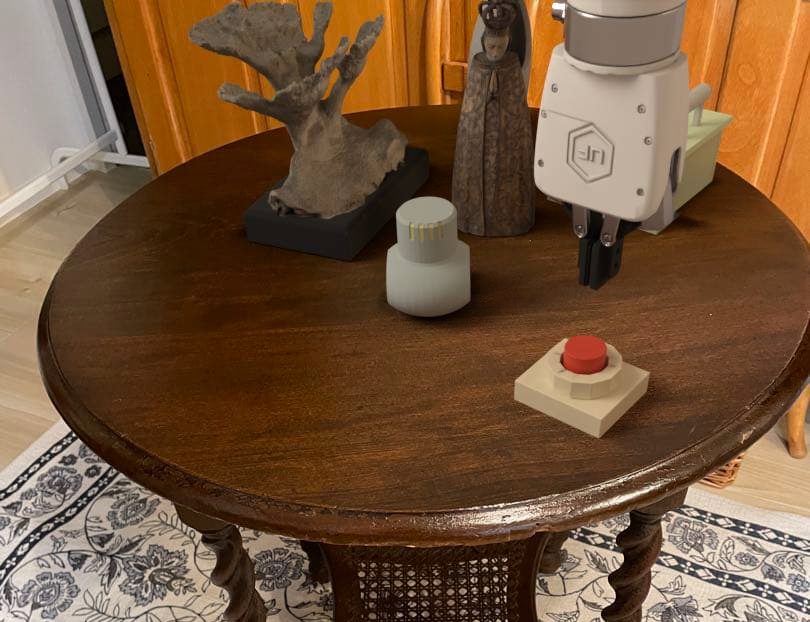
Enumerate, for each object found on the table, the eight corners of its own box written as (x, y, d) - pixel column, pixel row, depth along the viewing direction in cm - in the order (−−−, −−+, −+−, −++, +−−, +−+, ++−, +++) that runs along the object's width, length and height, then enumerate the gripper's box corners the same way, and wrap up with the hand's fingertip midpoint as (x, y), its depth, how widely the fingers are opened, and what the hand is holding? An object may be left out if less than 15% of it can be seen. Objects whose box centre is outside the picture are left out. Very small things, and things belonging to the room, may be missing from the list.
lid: (731, 122, 96) (741, 74, 92) (674, 166, 90) (683, 116, 86) (611, 94, 103) (616, 49, 99) (551, 133, 97) (554, 86, 93)
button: (612, 360, 76) (615, 344, 74) (590, 381, 74) (592, 364, 73) (577, 346, 77) (579, 329, 76) (554, 366, 76) (556, 349, 74)
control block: (646, 392, 78) (653, 355, 75) (598, 439, 74) (603, 402, 71) (563, 356, 82) (566, 321, 79) (513, 399, 78) (515, 363, 75)
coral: (334, 279, 94) (304, 68, 78) (186, 244, 101) (131, 44, 85) (435, 178, 108) (428, -17, 92) (299, 154, 115) (270, -32, 99)
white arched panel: (511, 186, 106) (516, 15, 92) (454, 182, 107) (451, 14, 93) (537, 122, 117) (545, -38, 103) (486, 119, 119) (487, -39, 105)
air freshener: (393, 274, 94) (386, 184, 86) (469, 271, 93) (468, 181, 86) (388, 332, 87) (380, 240, 79) (470, 330, 86) (470, 237, 79)
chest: (710, 190, 102) (724, 122, 96) (656, 235, 96) (667, 166, 90) (604, 159, 109) (611, 95, 103) (547, 199, 103) (551, 133, 97)
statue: (474, 249, 96) (474, -4, 78) (444, 220, 101) (438, -25, 82) (542, 229, 98) (557, -23, 80) (509, 201, 103) (517, -42, 84)
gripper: (495, 29, 58) (495, 273, 71) (700, 71, 51) (656, 333, 64) (559, -5, 61) (546, 234, 75) (759, 30, 54) (705, 287, 68)
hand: (597, 279), depth 70 cm, fingers closed
